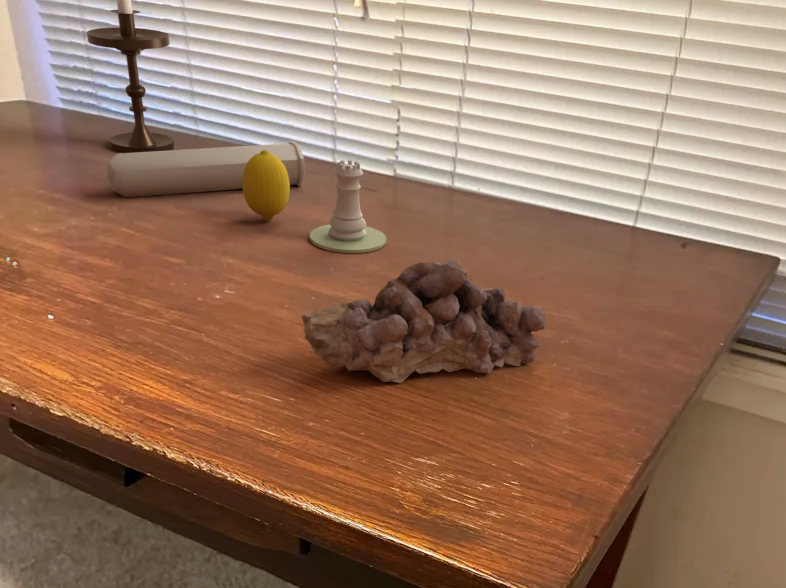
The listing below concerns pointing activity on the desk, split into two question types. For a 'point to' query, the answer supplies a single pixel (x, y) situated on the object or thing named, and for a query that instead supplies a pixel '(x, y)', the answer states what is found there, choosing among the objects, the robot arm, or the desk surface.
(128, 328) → the desk surface
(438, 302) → the mineral specimen
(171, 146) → the candlestick
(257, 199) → the lemon
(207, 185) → the tube
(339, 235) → the rook chess piece
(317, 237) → the coaster
